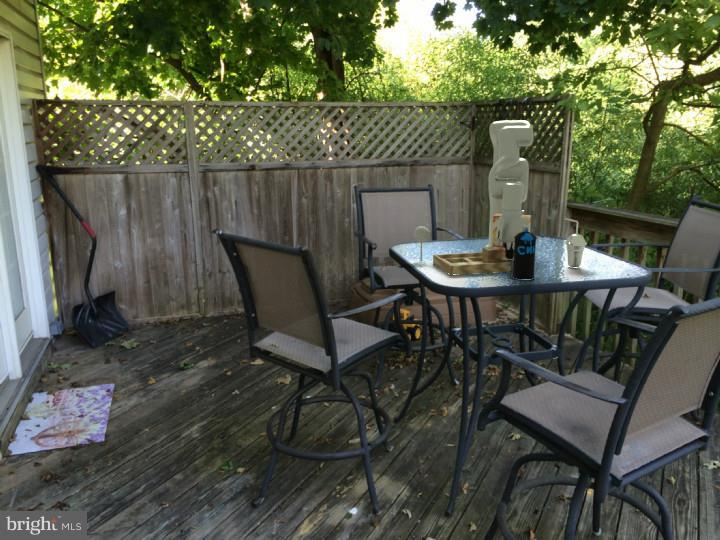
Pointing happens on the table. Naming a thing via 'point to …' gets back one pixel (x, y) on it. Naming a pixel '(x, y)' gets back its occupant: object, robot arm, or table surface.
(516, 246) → the aerosol can
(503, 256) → the coffeecake box
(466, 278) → the table surface
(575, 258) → the cup with straw
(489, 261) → the block
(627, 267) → the table surface
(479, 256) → the tray
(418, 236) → the lollipop
